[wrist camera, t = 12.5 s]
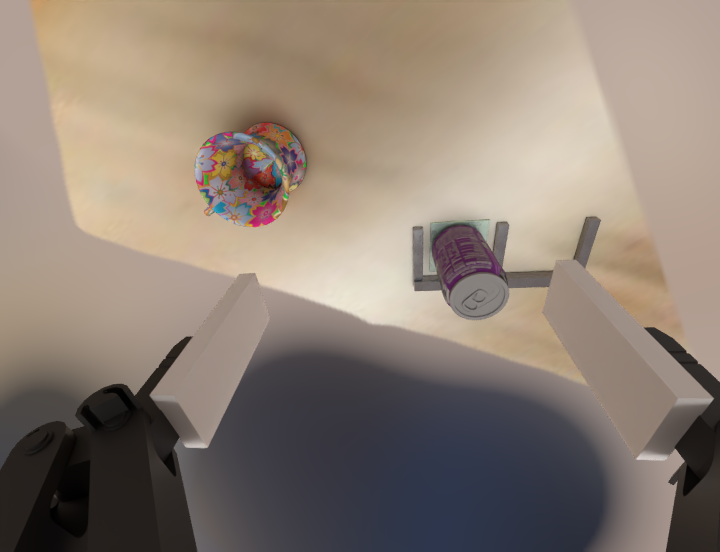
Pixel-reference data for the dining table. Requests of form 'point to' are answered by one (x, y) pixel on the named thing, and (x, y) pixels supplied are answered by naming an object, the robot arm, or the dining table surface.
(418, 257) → the grey flat frame
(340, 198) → the dining table surface
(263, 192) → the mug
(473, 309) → the beverage can
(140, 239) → the dining table surface
